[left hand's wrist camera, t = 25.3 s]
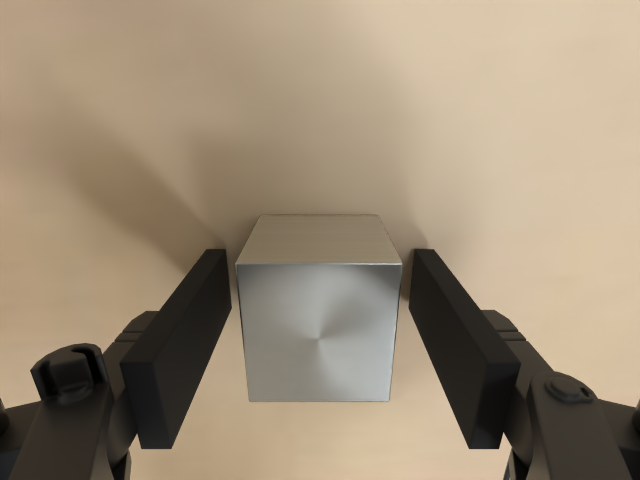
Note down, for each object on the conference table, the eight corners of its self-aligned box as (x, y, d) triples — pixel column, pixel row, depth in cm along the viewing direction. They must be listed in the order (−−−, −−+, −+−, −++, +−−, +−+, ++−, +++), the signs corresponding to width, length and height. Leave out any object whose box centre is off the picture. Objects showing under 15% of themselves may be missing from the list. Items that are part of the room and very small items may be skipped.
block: (267, 324, 15) (248, 402, 11) (260, 214, 14) (234, 262, 10) (371, 323, 15) (389, 402, 11) (378, 214, 14) (403, 262, 10)
